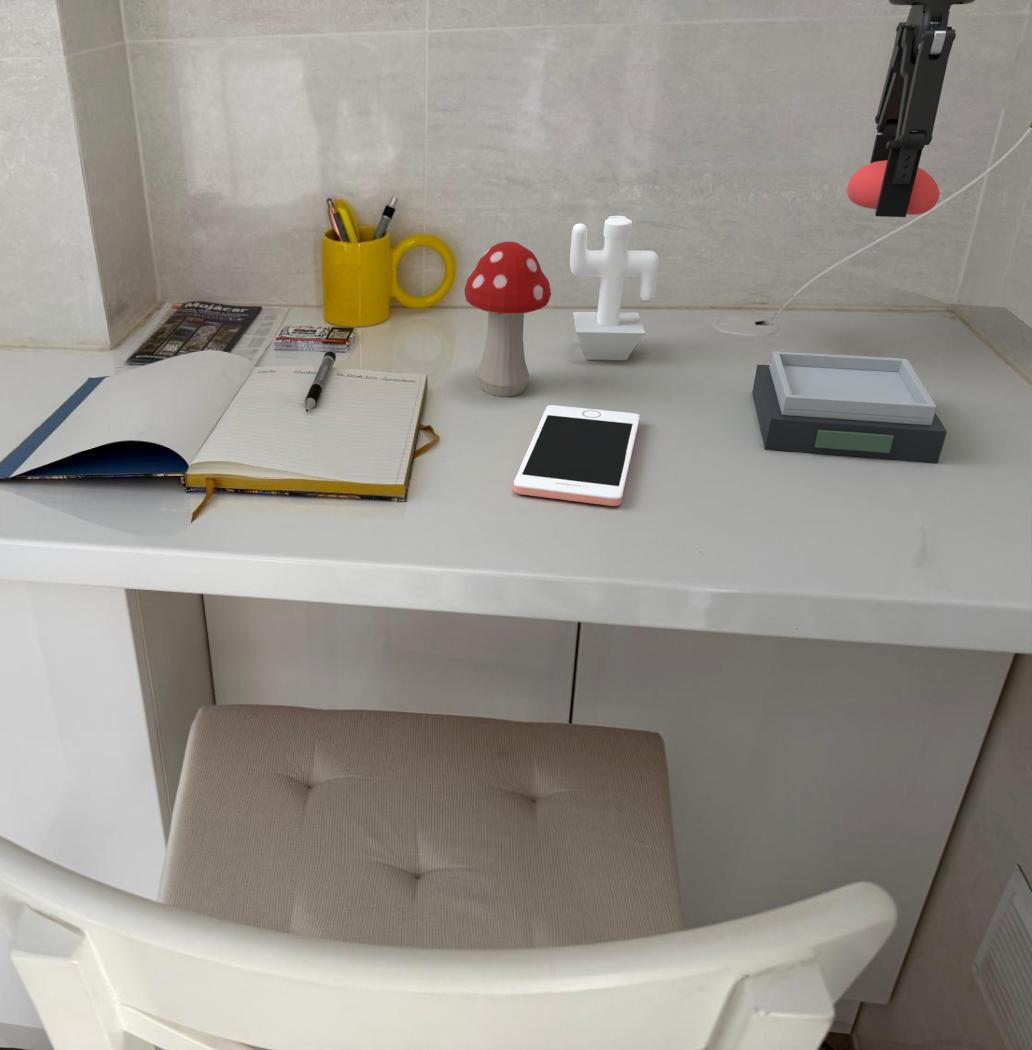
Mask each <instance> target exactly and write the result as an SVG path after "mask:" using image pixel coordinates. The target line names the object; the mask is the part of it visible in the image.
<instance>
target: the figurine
mask: <svg viewBox="0 0 1032 1050" xmlns="http://www.w3.org/2000/svg"><path fill="white" fill-rule="evenodd" d="M603 224H604V225H603V237H604V242H603V247H602V248H601V249H595V250H594V249H593V250H592V249H588V243H587V242H588V227H587V225H586V224H585V223H576V224H574V225H573V227H572V229H571V239H570V250H569V252H570V253H569V269H570V271H571V273H572V275H574V276H576V277H598V278H600V282H599V284H600V285H599V293H598V301H597V311H572V315H573V321H574V325H575V333H576V335H577V337H578V341H579V344H580V346H581V349H582V352H583V355H584V358H585V360H586V361H627V360H628V359H629V358H630V355H631V354H632V353H633V351H634V350H635V348H636V347H637V345H638V344H639V343H640V341H641V340H642V339H643V338H644V335H645V334H646V332H645V328H644V327H643V324H642V321H641V318H640V315H639V313H638V312H621V309H622V301H623V291H624V284H625V283H624V282H625V278H627V277H629V278H630V277H631V278H640V288H639V298H640V300H641V301H643V302H649V303H650V302H652V301H654V299H655V297H656V294H657V293H656V292H657V286H658V285H657V284H658V279H659V268H660V260H659V259H660V258H659V256H658V255H659V254H657V252H655V251H653V250H642V249H641V250H640V249H639V250H633V249H631V250H630V249H628V246H629V239H630V237H631V236H632V229H633V220H632V219H630V218H627V216H624V215H609V216H608V217H607V218H606V219H605V220H604V223H603Z"/></svg>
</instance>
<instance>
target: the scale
mask: <svg viewBox="0 0 1032 1050" xmlns="http://www.w3.org/2000/svg"><path fill="white" fill-rule="evenodd" d="M751 392H752V397H753V402H754V405H755V406H754V407H755V410H756V415H757V419H758V424H759V428H760V433H761V437H762V442H763V446H764V450H772V451H782V452H795V453H796V452H797V453H798V452H799V453H806V454H807V453H809V454H818V455H819V454H822V455H833V456H843V457H844V456H846V457H858V458H871V459H883V460H896V461H906V462H907V461H910V462H919V463H920V462H922V463H933V464H938V463H939V460H940V456H941V453H942V449H943V447H944V444H945V440H946V436H947V433H948V431H947V429H946V428H945V426H944V424H943V423H942V421H941V419H940V418H939V416H938V415H937V412H936V410H937V405H936V403H935V401H934V400H933V398H932V397H931V395H930V394H929V392H928V390H927V389H926V387H925V385H924V383H923V382H922V381H921V379H920V377H919V376H918V374H917V373H916V371H915V369H914V367H913V366H912V364H911V363H910V361H909V360H908V358H900V357H899V358H898V357H883V356H882V357H881V356H864V355H863V356H862V355H847V354H845V355H843V354H829V353H827V354H826V353H813V352H812V353H808V352H792V351H789V352H788V351H774V350H773V351H772V352H771V356H770V362H769V364H756V369H755V375H754V380H753V385H752V391H751Z"/></svg>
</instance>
